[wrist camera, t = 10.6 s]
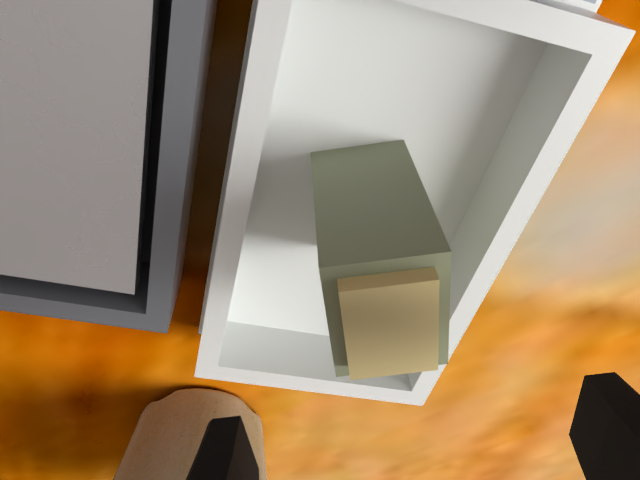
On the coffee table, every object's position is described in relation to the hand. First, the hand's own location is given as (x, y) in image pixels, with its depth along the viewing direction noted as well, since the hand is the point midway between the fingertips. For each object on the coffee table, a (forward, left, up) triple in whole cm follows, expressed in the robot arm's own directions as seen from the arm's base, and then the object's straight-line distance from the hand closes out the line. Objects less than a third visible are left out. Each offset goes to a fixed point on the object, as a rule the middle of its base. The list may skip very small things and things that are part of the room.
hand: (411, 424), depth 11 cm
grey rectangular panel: (+11, -2, -8) cm, 13 cm away
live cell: (0, 0, -10) cm, 10 cm away
